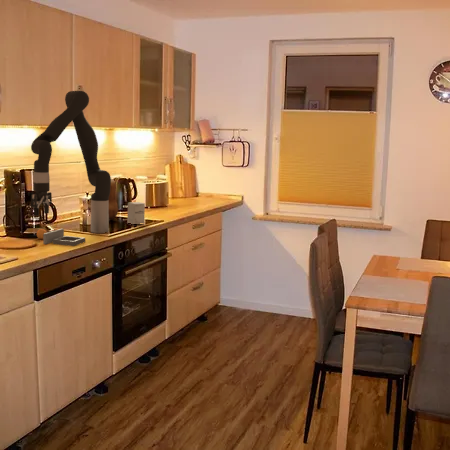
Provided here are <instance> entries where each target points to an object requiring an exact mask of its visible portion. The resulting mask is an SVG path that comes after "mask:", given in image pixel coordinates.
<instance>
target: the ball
mask: <svg viewBox="0 0 450 450" xmlns="http://www.w3.org/2000/svg"><path fill="white" fill-rule="evenodd" d="M44 233H47V230H45V229H44V228H40V229H38V230H37V232H36V237H37V239H39V240H43V234H44Z"/></svg>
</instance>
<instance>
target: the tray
mask: <svg viewBox="0 0 450 450" xmlns="http://www.w3.org/2000/svg"><path fill="white" fill-rule="evenodd" d="M83 242H84V243H86V237H83V236H71V235H64V236H63V237H60V238H56V239H53V242H52V244H53V245H60V246H70V247H75V246H78V245H80V243H81V244H83ZM74 245H75V246H74Z"/></svg>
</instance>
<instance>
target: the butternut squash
mask: <svg viewBox="0 0 450 450" xmlns="http://www.w3.org/2000/svg"><path fill="white" fill-rule="evenodd" d="M117 202H118V201H117V184H116V181H115V179H113V178H111V189H110V195H109V210H108V214H109V221H110V220H111V221H112V220H114V219H116V217H117V216H118V213H119V208H118V207H119V206H118V203H117Z"/></svg>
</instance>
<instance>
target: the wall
mask: <svg viewBox="0 0 450 450" xmlns="http://www.w3.org/2000/svg"><path fill="white" fill-rule="evenodd" d="M64 230H65V229H64V228H58V229H55V230H52V231H48V232H47V231H46V232H47V233H44V234H43V239H42V240H43V245H47V244H50V243H51V244H52V243H53V239H56V238H60V237H63V236H65V231H64Z"/></svg>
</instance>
